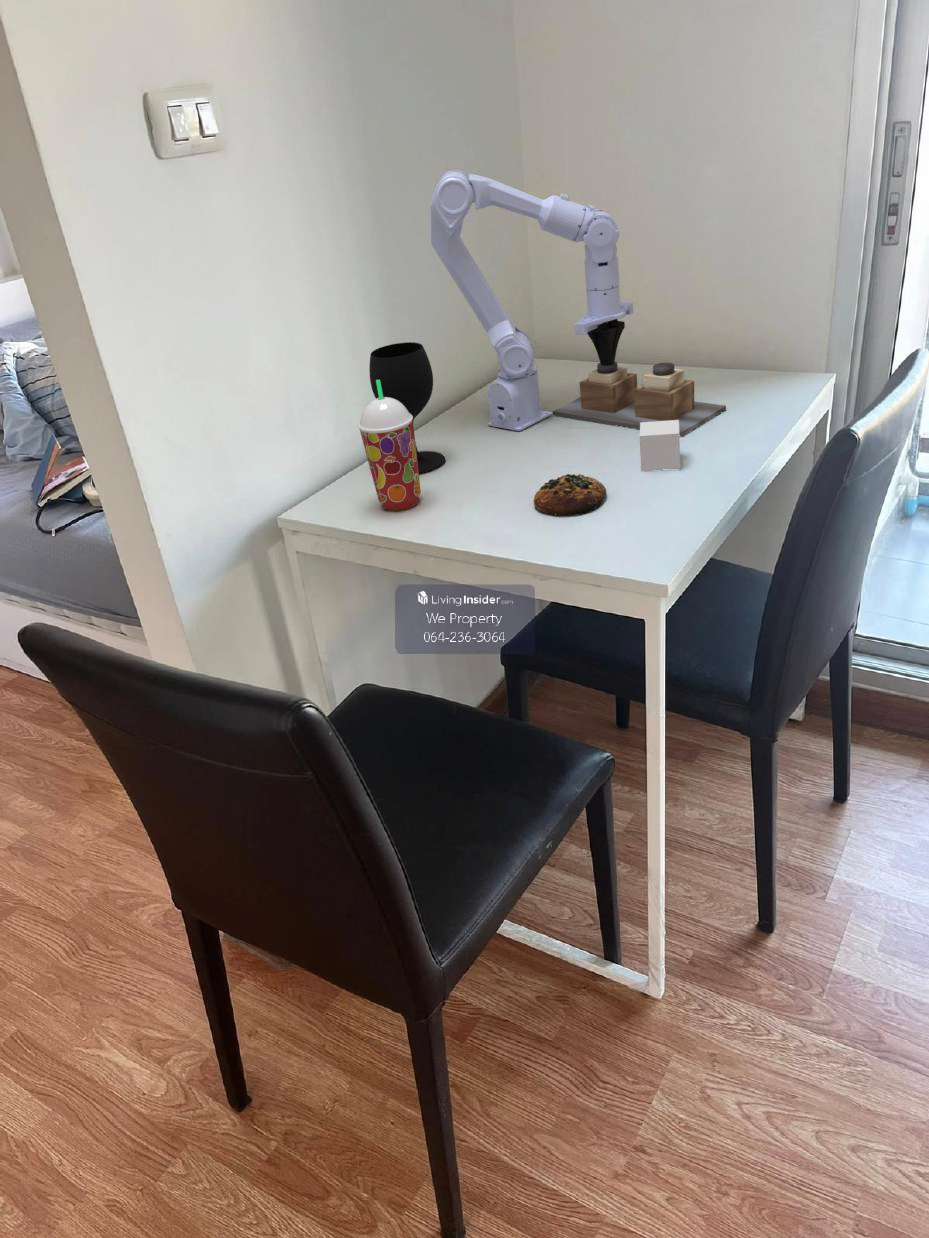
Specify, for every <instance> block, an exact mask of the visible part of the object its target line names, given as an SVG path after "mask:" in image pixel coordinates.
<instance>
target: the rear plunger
mask: <svg viewBox="0 0 929 1238" xmlns="http://www.w3.org/2000/svg"><path fill="white" fill-rule="evenodd" d="M596 366H597V367H596V368H597V369H594V370H592V371H591V372H589V373H587V376H588V377H587V378H589V382H596V383H603V384H611V385H612V384H614V383H616V382H618V381H620V380H621V379H623V378H625V377H627V373H628V367H622V366H621V367H620V366H618V361H614V364H612V365H610V366H607V365H601V363H600V362H599V363H597V365H596Z"/></svg>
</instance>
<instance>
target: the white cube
mask: <svg viewBox="0 0 929 1238" xmlns="http://www.w3.org/2000/svg"><path fill="white" fill-rule="evenodd" d="M680 443H681V442H680V436H679V420H669V421H655V422H640V430H639V454H640V455H639V456H640V457H639V458H640V472H641V471H645V472H653V471H652V470H662V471H664V470H663V469H679V470H681V453H680V452H681V448H680V447H681V446H680V445H681V444H680Z"/></svg>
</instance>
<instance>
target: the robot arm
mask: <svg viewBox="0 0 929 1238" xmlns="http://www.w3.org/2000/svg"><path fill="white" fill-rule="evenodd" d="M473 203H475V205H474V206H475V210H476V211H477V210H480V209H485V208H487V207H488V208H489V207H491V206H495V207H497V208H499V209H503V210H507V211H509V212H514V213H516V214H519V215H523V216H525V217H528V218H532V219H534V220H537V221H538V224H539V227H540V229H541V231H544V232H546V233H549V234H552V235H555V236H557V237H559V238H560V237H561V238H563V239H566V240H568V241H571V242H575V243H578V242H579V243H580V242H583V243H584V256H585V259H584V276H585V289H586V291H585V292H586V307H587V314H585V315H584V316H583V317H582V318H581V319H580V320H578V321H577V322H575V323H574V333H575V335H578V336H586V335H587V336H588V337H589V339H590V340H591V342H592V343H593V346H594V348H595V351H596V353H597V358H598V360H599V363H601V365H607V366H610V365H612V364H614V361H615V359H616V354H617V350H618V345H619V343H620V342H619V341H620V339H621V335H622V333H623V331H624V329H625V327H626V324H625V321H624V320H623V321H622V320H621V319H624V318H625V317H627V316H628V315H632V314H634V304H633V303H634V302H633V301H631V302H630V301H629V302H628V301H623V302H621V292H620V290H621V289H620V274H619V273H620V272H619V271H620V270H619V257H618V256H617V252H618V246H617V243H618V241H619V237H620V231H619V228H618V225H617V223H616V222H615V220H614V219H613V218H612V216H611V215H610V214H609V213H607V212H605V211H603V210H602V209H601V208H600V209H596V206H594V205H591V204H589V205H588V206H585V205H583V204H580V203H577V202H574V201H571V200H569V196H568V194H564V193H560V195H559V196H558V195H556V194H552V195H551V196H549V197H547V198H545V199H543V198H540V197H537V196H534V195H531V194H530V193H528V192H527V193H526V192H524V191H522V190H519V189H517V188H514V187H512V186H509V185H507V184H505V183H502V182H499V181H497V180H494V179H492V178H489V177H486V176H482V175H477V174H473V173H469V174H467V173H465V171H462V170H457V169H453V170H449V171H446V172H445V173H443V175H442V176H440V178H439V180H438V182H437V185H436V186H435V190H434V192H433V196H432V199H431V202H430V243H431V245H432V248H433V249H434V251H435V252H436V254H437V256H438V257H439V259H440V260H441V262H442V263H443V265H444V267H445V268H446V270H447V271H448V273H449V275H450V276H451V278H452V280H453V281H454V283H455V284H456V286H457V288H458V290H459V291H460V292H461V294H462V295H463V297H464V298H465V300H466V301H467V303H468V305H469V306H470V307H471V309H472V311H473V313H474V314H475V316H476V317H477V319H478V321H479V322H480V323H481V325H482V327H483V329H484V331H485V333H486V334H487V335H488V338H489V341H490V342H491V345H492V346H493V349H494V351H495V352H496V354H497V359H498V360H497V361H498V366H499V369H498V370H497V378H496V380H495V381H494V382H493V383H491V384H490V385H489V387H488V389H487V401H488V409H489V417H490V421H489V422H487V423H488V424H487V425H488V426H489V427H496V428H501V429H505V430H506V429H507V430H511V431H517V432H521V431H523V430H525V429H526V428H529V427H532V425H534V424H537V423H538V422H540V421H542V420H544V419H546V418H547V417H550V416H551V415H552V412H551V411H545V410H542V405H541V395H540V386H539V385H540V384H539V375H538V366H537V365H536V364H534V362H535V356H534V352H533V350H532V349H533V344H532V339H531V337H530V336H529V335H528V334H527V333H526V332H524V331H523V330H521V329H520V328H519V327H518V326H517V325H516V324H515V322H514V320H513V319H512V318H511V317H510V316H509V315H508V313H507V312H506V310H505V308H504V307H503V304H502V303H501V301H499V298H498V296H497V295H496V293H495V292H494V290H493V288H492V287H491V285H490V284H489V282H488V280H487V278H485V275H484V274H483V271H482V270H481V269H480V267H479V266H478V264H477V262H476V261H475V259H474V258H473V255H471V253H470V251H469V249H468V248H467V246H466V245H465V243H464V242H463V239H462V238H461V232H462V228H463V223H464V221H465V220H464V219H466V216H467V215H468V213H469V210H470V209H471V207H472V205H473ZM615 362H616V361H615Z"/></svg>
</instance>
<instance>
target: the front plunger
mask: <svg viewBox="0 0 929 1238" xmlns="http://www.w3.org/2000/svg"><path fill="white" fill-rule="evenodd" d="M642 377H643V384H644V389H649V390H657V391H664V392H670V391H672V390H674V389H676V388H677V387H679V386H681V385H683V384H684V380H685V369H681V368H675V363H672V362H660V363H656V364H653V366H652V370H651V371H649V372H647V373H646V374H644V375H643V376H642Z"/></svg>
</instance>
